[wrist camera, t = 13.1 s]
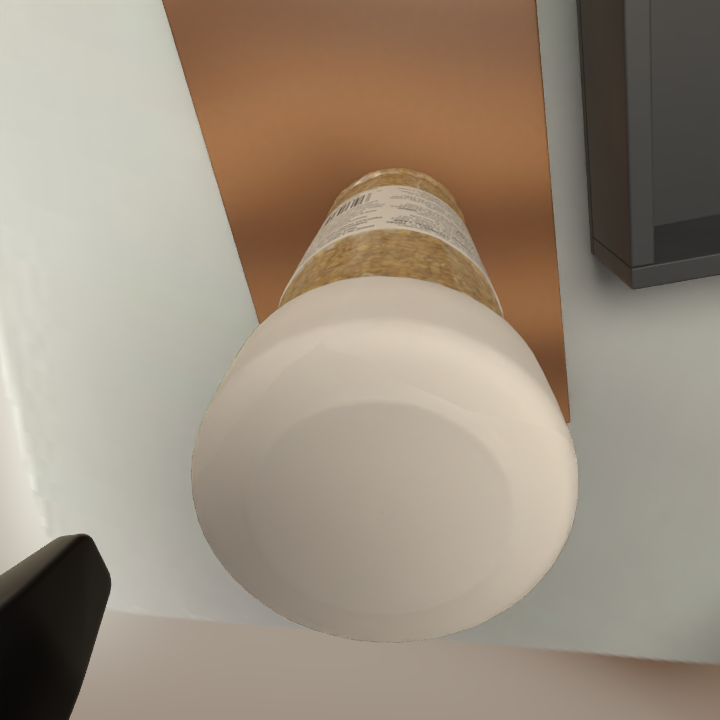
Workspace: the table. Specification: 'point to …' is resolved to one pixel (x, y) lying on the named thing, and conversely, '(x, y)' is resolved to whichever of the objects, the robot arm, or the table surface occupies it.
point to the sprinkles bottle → (386, 433)
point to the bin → (652, 136)
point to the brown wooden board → (380, 131)
